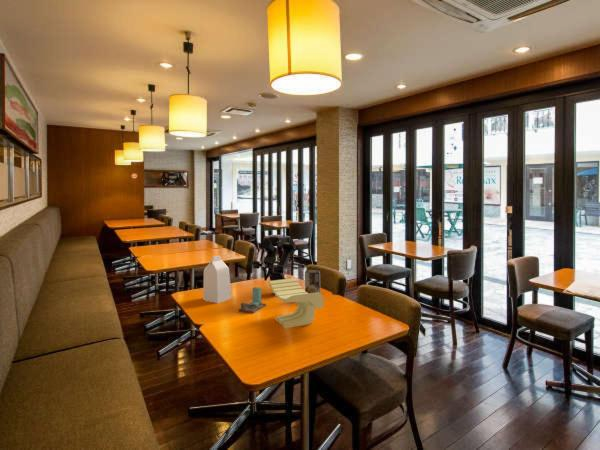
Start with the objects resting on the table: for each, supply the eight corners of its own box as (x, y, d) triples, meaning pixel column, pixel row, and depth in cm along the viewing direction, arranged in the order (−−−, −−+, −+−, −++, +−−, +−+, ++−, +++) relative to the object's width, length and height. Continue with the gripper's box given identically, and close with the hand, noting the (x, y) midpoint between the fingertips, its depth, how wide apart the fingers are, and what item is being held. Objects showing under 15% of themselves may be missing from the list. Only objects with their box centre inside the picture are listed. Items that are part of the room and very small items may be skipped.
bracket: (252, 303, 211) (251, 296, 211) (265, 305, 208) (265, 298, 207) (238, 311, 198) (238, 303, 198) (253, 313, 195) (253, 305, 194)
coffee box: (320, 296, 226) (320, 270, 224) (320, 299, 219) (320, 272, 218) (305, 295, 226) (305, 269, 225) (304, 298, 220) (304, 272, 219)
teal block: (254, 302, 209) (254, 287, 208) (261, 303, 208) (260, 287, 207) (246, 307, 201) (246, 291, 200) (253, 308, 199) (252, 291, 198)
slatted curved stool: (323, 328, 172) (323, 291, 170) (292, 334, 166) (291, 295, 164) (297, 310, 199) (297, 277, 198) (269, 314, 193) (269, 280, 191)
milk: (217, 303, 213) (216, 258, 210) (203, 300, 218) (201, 257, 216) (231, 298, 223) (230, 255, 221) (217, 295, 229) (216, 254, 226)
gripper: (254, 247, 214) (247, 273, 207) (285, 253, 212) (279, 278, 206) (256, 255, 224) (250, 279, 217) (286, 260, 222) (281, 284, 215)
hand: (265, 280), depth 214 cm, fingers closed
